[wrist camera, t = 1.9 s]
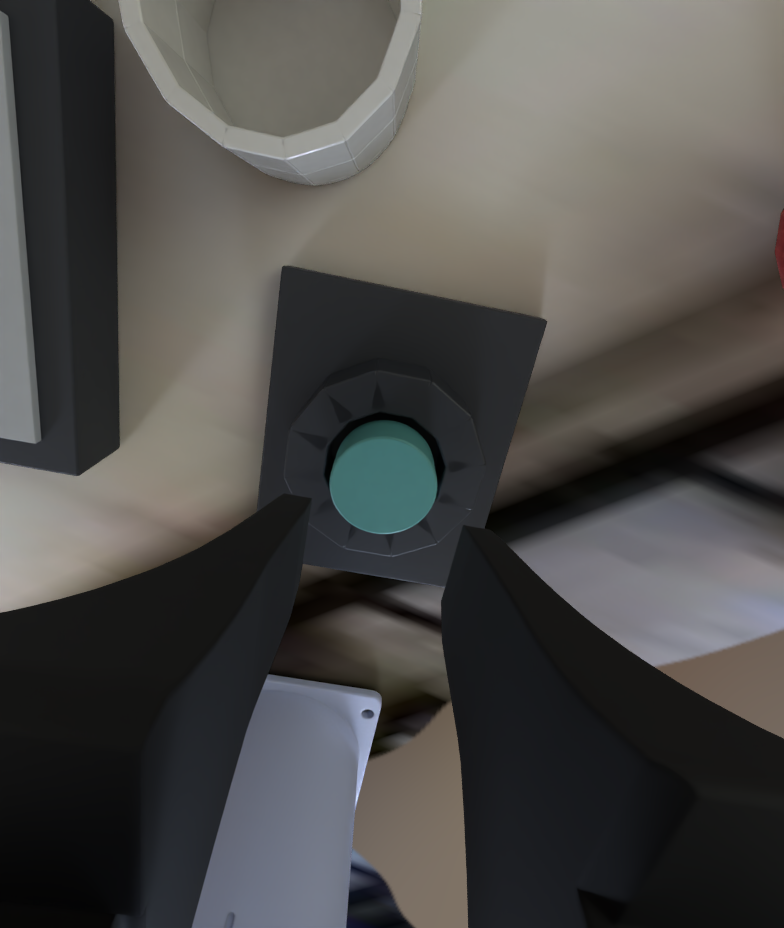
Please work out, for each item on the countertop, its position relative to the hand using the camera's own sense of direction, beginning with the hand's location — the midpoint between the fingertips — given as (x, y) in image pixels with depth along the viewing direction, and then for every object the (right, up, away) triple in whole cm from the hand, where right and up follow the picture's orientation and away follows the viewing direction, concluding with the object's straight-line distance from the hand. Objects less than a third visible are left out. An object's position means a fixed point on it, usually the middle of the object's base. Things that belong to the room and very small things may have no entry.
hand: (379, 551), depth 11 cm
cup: (-2, +12, +2) cm, 13 cm away
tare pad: (0, +3, +6) cm, 7 cm away
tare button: (0, +2, +4) cm, 5 cm away
